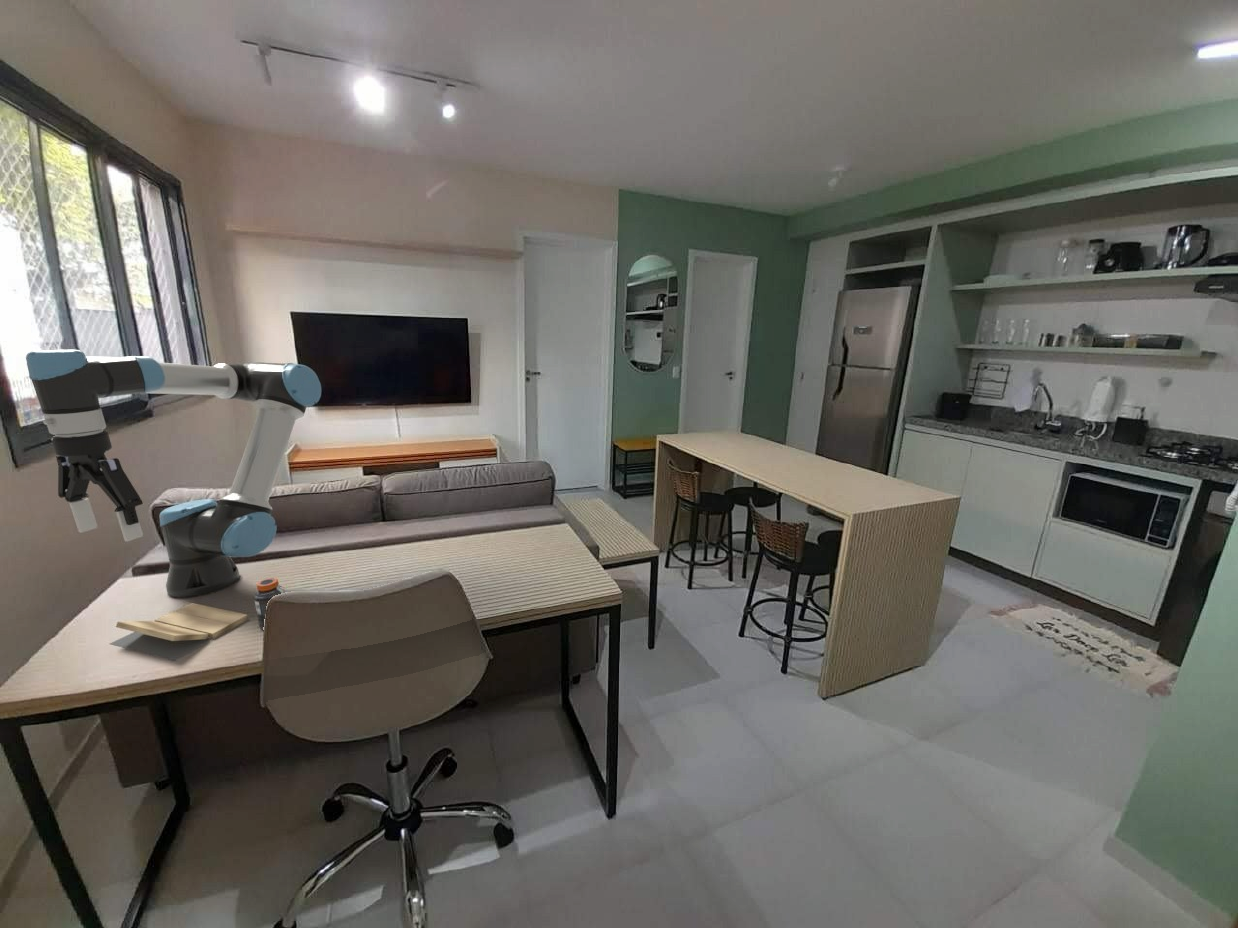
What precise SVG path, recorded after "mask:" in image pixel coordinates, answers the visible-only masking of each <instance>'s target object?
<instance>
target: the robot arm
mask: <svg viewBox="0 0 1238 928" xmlns="http://www.w3.org/2000/svg"><path fill="white" fill-rule="evenodd" d="M25 360H26V366H27V370H28V378H29V379H30V381H31V382H32V385H33V387H34V392H35V394H36V398H37V399H38V403H39V406H40V408H41V411H42V415H43V418H44V420H42V423H43V424H44V425H46V427H47V430H48V433H49V434H51V435H54V436H52V437H51V439H50V440H51V443H52V446H53V449H54V453H55V454H56V457H55V458H56V462H57V467H58V468H57V469H58V473H57V475H58V476H57V477H58V478H57V479H58V480H57V496H58V497H59V498H61V499H62V498H64V500H65V501H66V502H67V503H68V502H69V506H70V511H71V512H72V515H73V518H74V522H75V524H76V527H77V531H78V533H81V534H82V533H86V532H88V531H91V530H95V529H98V524H97V521H96V516H95V513H94V512H93V508H92V504H91V502H90V499H89V498H88V497H90V495H89V494H88V493H87V491H88V487H89V484H90V482H92V484H94V485H97V486H99V488H100V489H101V490H102V491H103V493H104V494H105V495H106V496H107V497H108V498H109V499H110V501H111V502H112V503H113V504H114V506H115V507H116V508H115V509H114V512H115V514H116V517H117V520H118V525H119V527H120V530H121V533H122V536H123V540H124V542H130V541H133V540H136V539H139V538H141V537H144V534H143V529H142V528H141V523H140V520H139V516H138V512H137V509H136V507H137V506H140V505H143V504H144V503H143V500H142V498H141V496H140V495H139V493H138V492H137V490H136V489H135V487H134V485H133V483H132V482H131V480H130V479H129V477H128V475H127V474H126V472H125V471H124V469H123V467H122V464H121V461H120V460H119V458H118V457H115V458H110V459H108V458H107V457H106V455H105V453H106V452H108V451H111V450H112V448H113V446H112V442H111V439H110V436H109V432H108V431H106V430H105V429H106V428H107V424H106V421H105V417H104V414H103V411H102V410H103V409H102V408H101V404H100V400H99V399H104V398H109V397H117V396H127V395H135V394H142V395H143V394H157V395H158V394H159V395H160V394H161V395H163V394H164V395H197V396H198V395H200V396H202V395H204V396H215V397H216V398H219V399H222V400H235V401H236V400H237V401H244V402H249V403H250V402H251V403H254V404H255V405H256V406H257V408H258V413H257V416H256V418H255V422H254V423H253V427H252V429H251V432H250V434H249V437H248V440H247V443H246V446H245V449H244V451H243V453H242V454H243V455H242V458H241V460H240V462H239V465H238V468H237V471H236V474H235V475H234V476H235V477H234V479H233V482H232V483H231V484H232V485H231V488H230V490H229V492H228V494H227V495H225V496H222V497H221V498H219V499H218V502H217V501H216V499H213V498H204V499H198V500H191V501H187V502H183V503H179V504H175V505H173V506H172V505H171V506H170V507H167V508H164V509H163V510H161V512H160V513H159V527H160V528H161V533H162V535H163V539H164V540H163V541H164V545H165V549H166V554H167V557H168V561H169V569H168V574H167V579H166V583H165V588H166V592H167V595H168V596H169V597H171V598H175V599H189V598H197V597H202V596H207V595H210V594H213V593H216V592H219V591H222V590H224V589H227V588H229V587H230V586H232V585H233V584H235V583H236V582H238V580H239V579H240V577H241V576H240V571H239V568H238V566H237V565H236V564H235V562H234V561H233V559H232V558H231V557H233V558H240V557H241V558H249V557H253V556H254V557H255V556H257V555H259V554H260V553H262V552H264V551H265V550H267V548H269V546H270V545H271V544H272V542H273V541H274V539H275V537H276V534H277V524H276V520H275V518H274V517H273V516H272V512H273V507H272V506H271V505H270V503H269V500H270V496H271V494H272V491H273V489H274V485H275V483H276V479H277V475H278V473H279V471H280V468H281V465H282V461H283V459H284V456H285V453H286V449H287V446H288V443H289V441H290V439H291V438H290V437H291V435H292V431H293V428H294V426H295V423H296V420H298V419H300V418H303V417H304V415H305V412H306V411H307V408H309V407H312V406H314V405H316V404H318V403H319V401H320V399H321V397H322V385H321V382H320V380H319V377H318V375H317V374H316V371H314V370H313V368H310V367H309V366H307V365H304V364H298V363H293V362H286V363H279V362H278V363H277V362H275V363H274V362H247V363H246V362H245V363H217V364H215V365H213V366H210V365H199V364H185V363H184V364H183V363H173V362H171V363H170V362H160V361H157V360H156V359H154V358H152V357H150V356H148V355H147V356H145V355H141V356H140V355H139V356H137V355H130V356H121V357H120V356H118V357H117V356H86V354H85V353H84V351H82V350H79V349H48V350H47V349H46V350H45V349H43V350H34V351H30V352H28V353H27V354H26V356H25Z"/></svg>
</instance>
